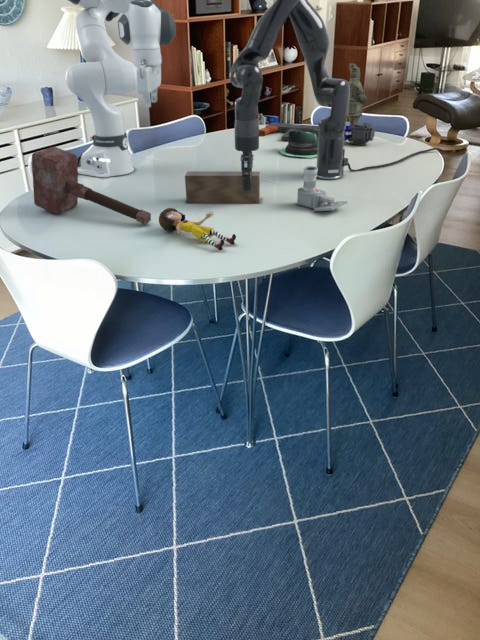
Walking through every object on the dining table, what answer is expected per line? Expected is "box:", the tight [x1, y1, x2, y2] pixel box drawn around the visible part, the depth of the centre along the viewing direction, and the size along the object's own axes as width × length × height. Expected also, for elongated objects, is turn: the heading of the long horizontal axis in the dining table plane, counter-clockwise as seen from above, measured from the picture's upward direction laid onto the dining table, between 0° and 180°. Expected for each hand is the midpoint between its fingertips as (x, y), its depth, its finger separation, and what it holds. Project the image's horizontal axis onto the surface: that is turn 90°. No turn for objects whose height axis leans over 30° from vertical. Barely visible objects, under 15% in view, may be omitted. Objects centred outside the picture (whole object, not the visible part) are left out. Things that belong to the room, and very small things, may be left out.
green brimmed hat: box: [279, 128, 318, 159], centre depth 234 cm, size 15×19×20 cm
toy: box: [344, 122, 376, 146], centre depth 244 cm, size 9×9×15 cm
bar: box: [184, 170, 261, 204], centre depth 180 cm, size 24×5×9 cm, turn 86°
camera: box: [296, 165, 349, 212], centre depth 171 cm, size 9×12×15 cm
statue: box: [346, 62, 368, 127], centre depth 262 cm, size 11×9×30 cm
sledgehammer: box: [31, 146, 152, 226], centre depth 169 cm, size 17×10×40 cm
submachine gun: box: [259, 122, 319, 141], centre depth 263 cm, size 32×3×25 cm
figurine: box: [158, 207, 237, 251], centre depth 153 cm, size 13×8×25 cm
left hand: (151, 104), depth 184 cm, fingers open, 8 cm apart
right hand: (247, 187), depth 180 cm, fingers closed on bar, 5 cm apart
